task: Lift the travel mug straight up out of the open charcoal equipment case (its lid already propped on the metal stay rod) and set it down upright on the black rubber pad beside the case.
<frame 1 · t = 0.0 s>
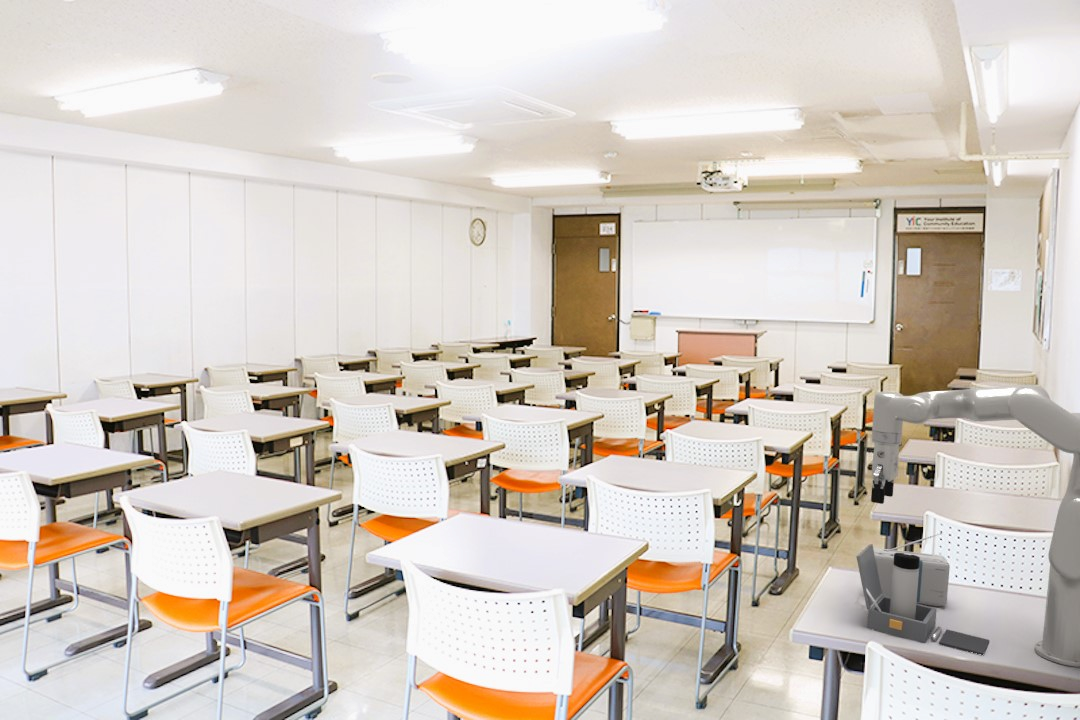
hand: (881, 499, 231), 31 cm above the table, tool pointing down, fingers open, 9 cm apart
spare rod: (936, 636, 217), on the table
case: (901, 627, 222), on the table
stereo radio cassette player: (904, 600, 242), on the table
pad: (964, 643, 214), on the table
travel mug: (901, 628, 222), resting in case
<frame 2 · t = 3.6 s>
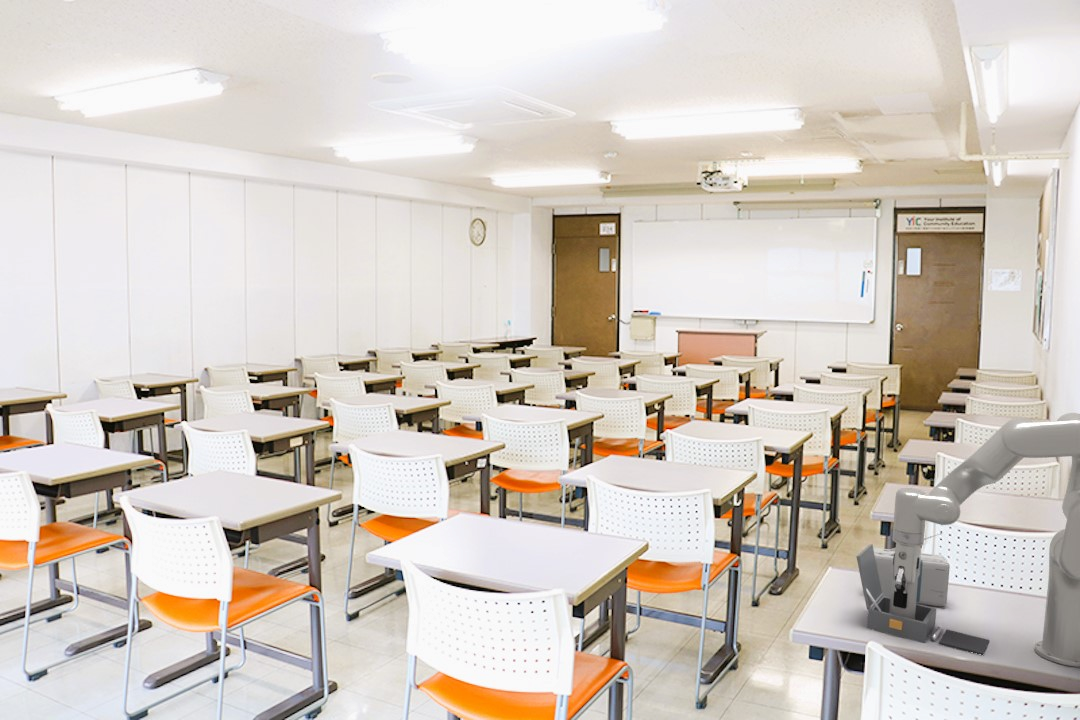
hand: (902, 602, 222), 7 cm above the table, tool pointing down, fingers closed on travel mug, 6 cm apart
travel mug: (901, 628, 222), resting in case, touching gripper
everything else where it was.
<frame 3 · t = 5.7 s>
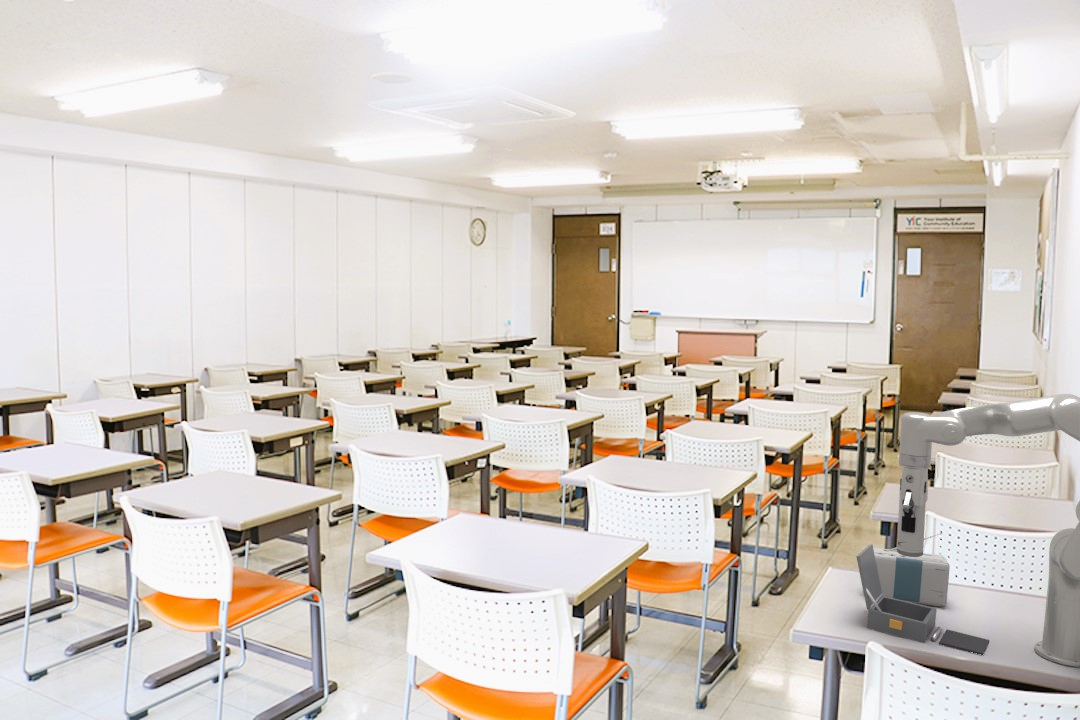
hand: (911, 528, 219), 27 cm above the table, tool pointing down, fingers closed on travel mug, 6 cm apart
travel mug: (909, 554, 220), point 20 cm above the table, touching gripper
everything else where it was.
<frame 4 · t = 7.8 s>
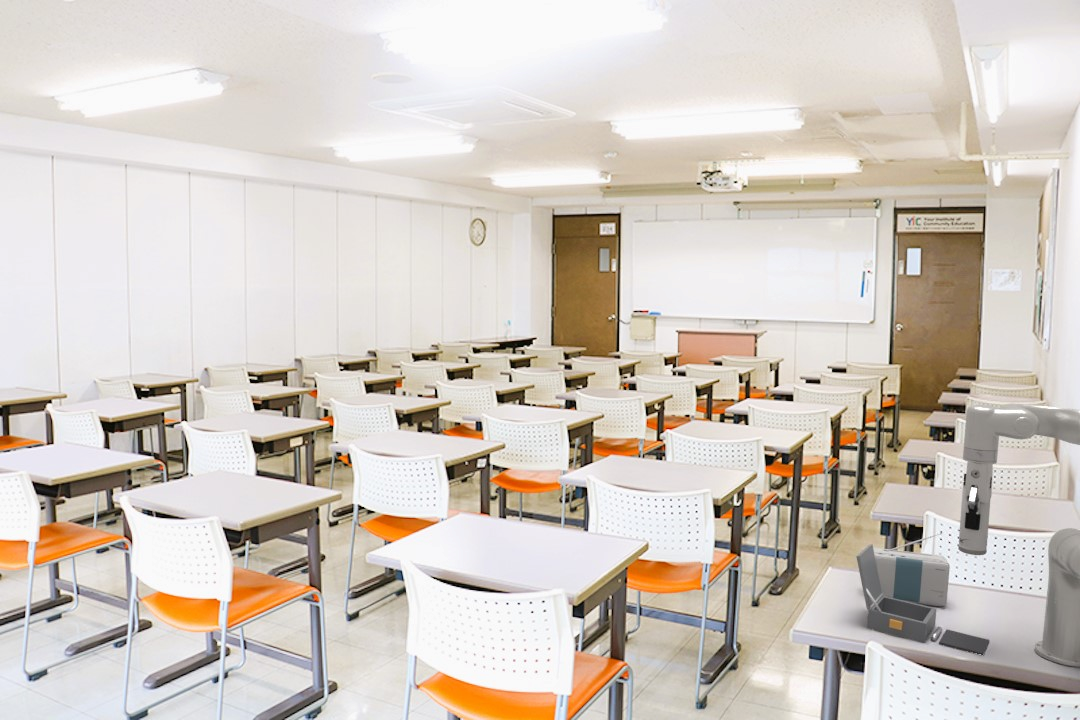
hand: (974, 525, 211), 31 cm above the table, tool pointing down, fingers closed on travel mug, 6 cm apart
travel mug: (972, 552, 211), point 24 cm above the table, touching gripper
everything else where it was.
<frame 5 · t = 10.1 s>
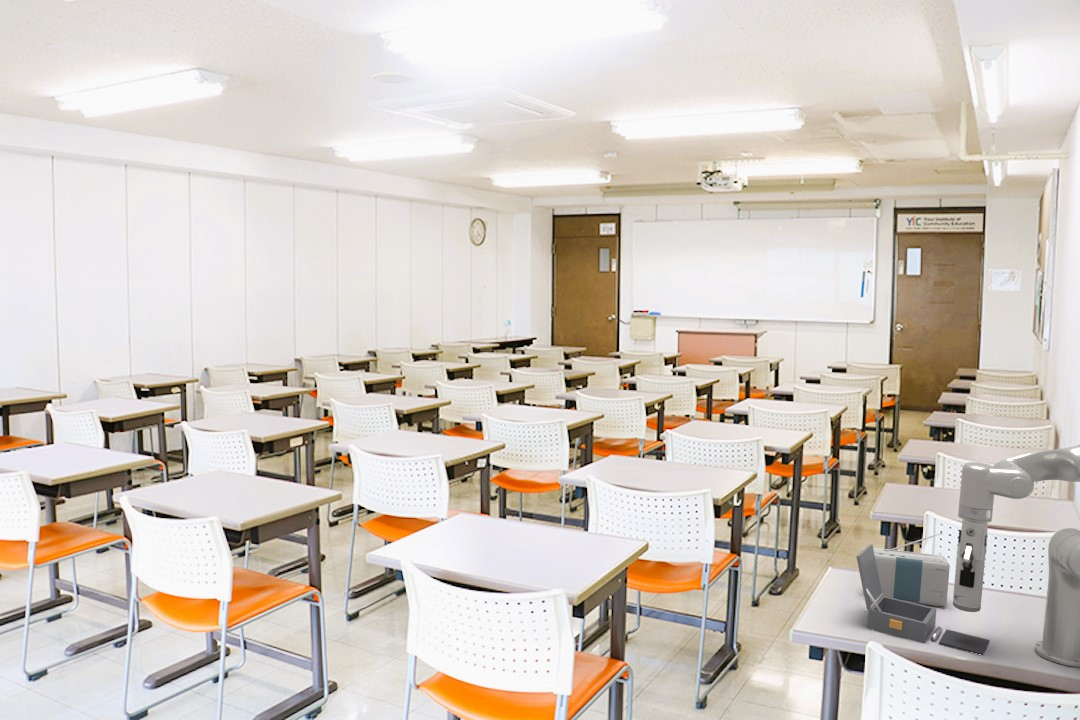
hand: (968, 581, 212), 16 cm above the table, tool pointing down, fingers closed on travel mug, 6 cm apart
travel mug: (966, 608, 213), point 9 cm above the table, touching gripper
everything else where it was.
when the fingers open (9 cm above the table, at t = 12.2 s): travel mug drops 1 cm, resting on pad.
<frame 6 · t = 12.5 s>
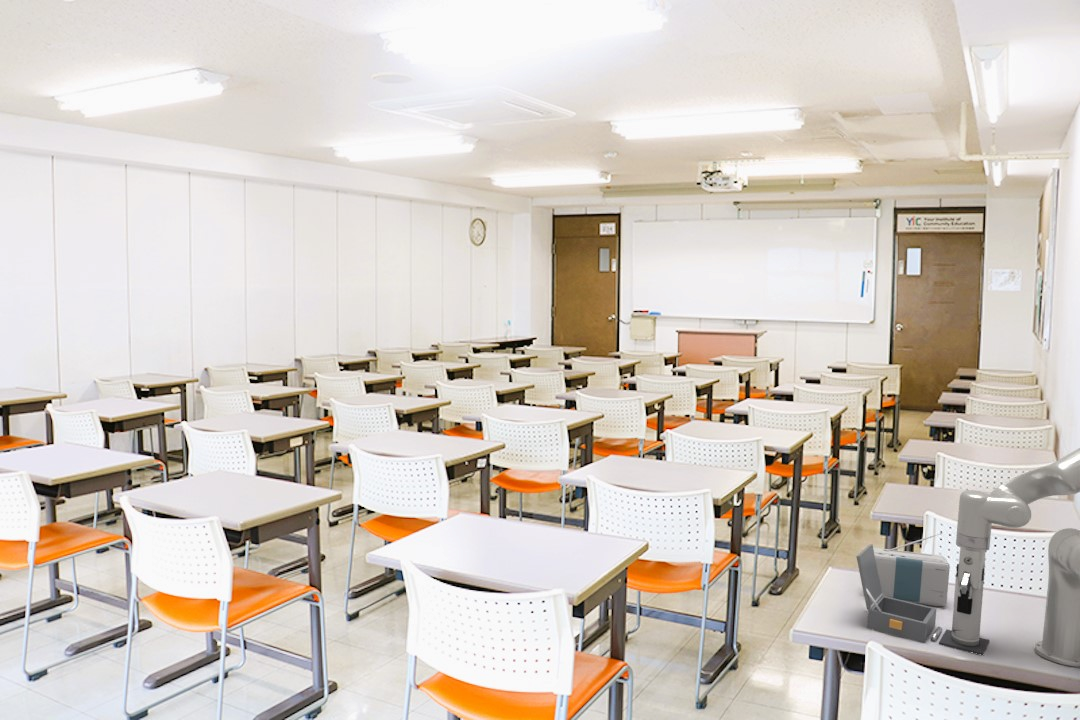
hand: (967, 607, 213), 9 cm above the table, tool pointing down, fingers open, 9 cm apart
travel mug: (964, 642, 213), resting on pad
everything else where it was.
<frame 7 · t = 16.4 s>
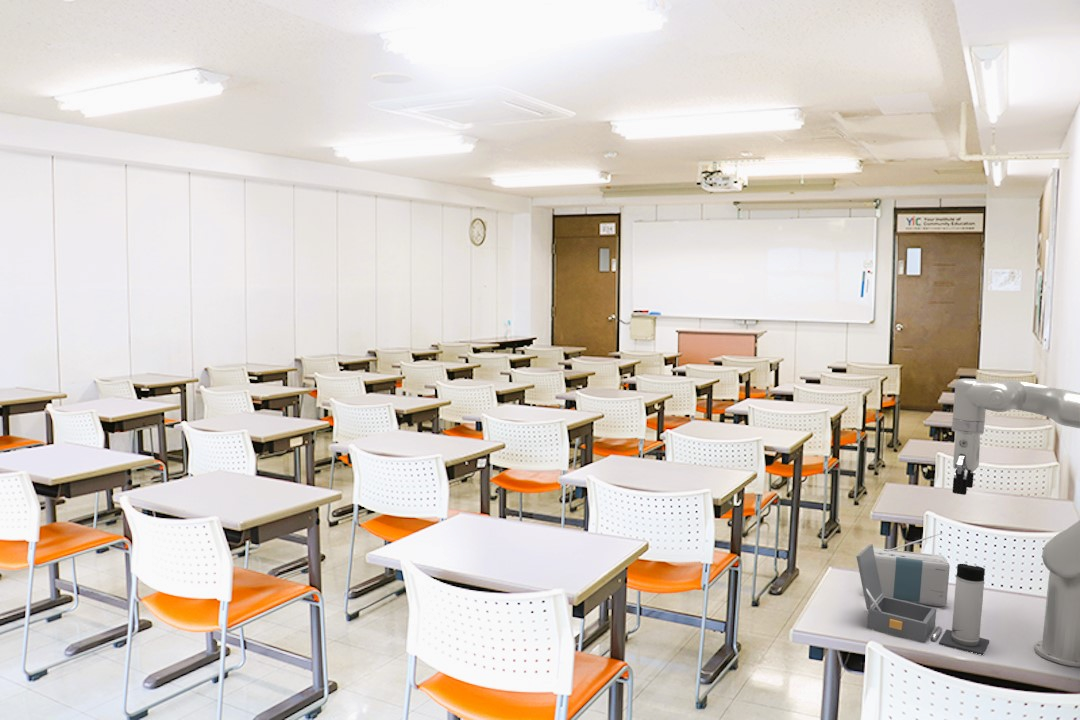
hand: (962, 490, 223), 36 cm above the table, tool pointing down, fingers open, 9 cm apart
nothing on the table moved.
at the end: travel mug 0.5 cm from the pad (horizontally); travel mug tilted 0°; travel mug resting on pad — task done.
